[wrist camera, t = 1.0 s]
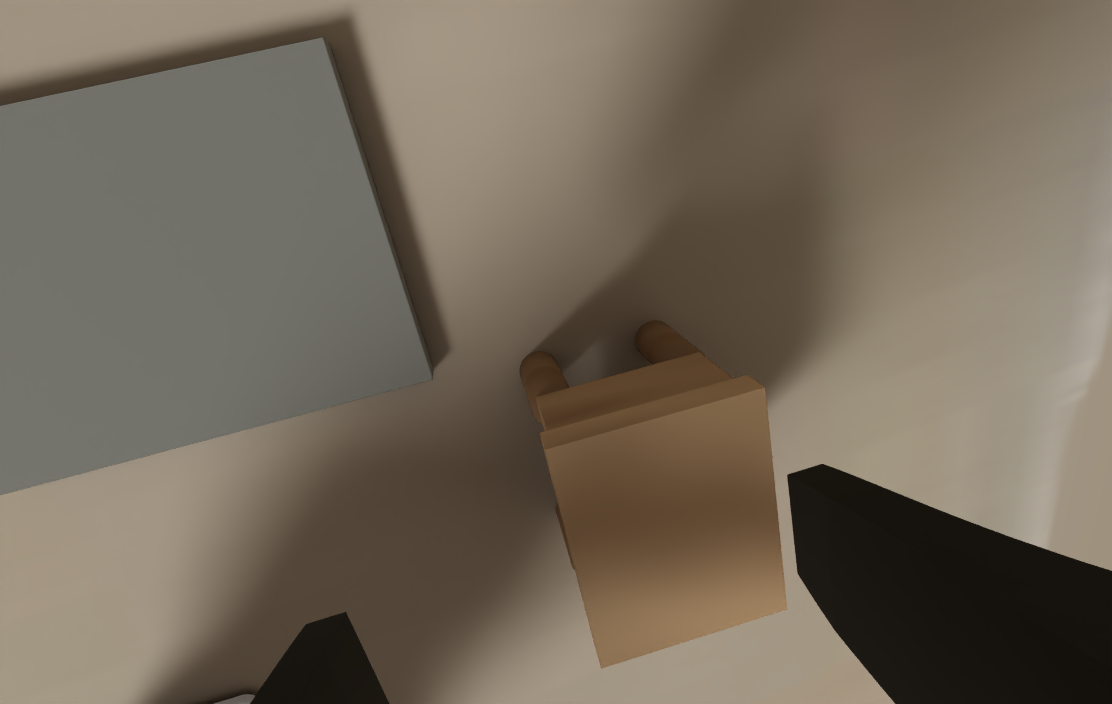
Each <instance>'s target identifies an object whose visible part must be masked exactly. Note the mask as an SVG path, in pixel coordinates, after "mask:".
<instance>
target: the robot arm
mask: <svg viewBox="0 0 1112 704" xmlns="http://www.w3.org/2000/svg"><path fill="white" fill-rule="evenodd" d="M787 477H788V487H789V496H790V506H791V515H792V525H793V534H794V544H795V553H796V563H797V572H798V575H799V576H800V578H801V580H802V581H803V583H804V584H805V586H806V587H807V589H808V591H809V592H810V594H811V595H812V597H813V598H814V600H815V602H816V603H817V605H818V606H819V608H820V609H821V611H822V612H823V614H824V615H825V617H826V618H827V619H828V621H829V622H830V624H831V625H832V627H833V628H834V630H835V631H836V633H837V634H838V635H839V636H840V637H841V639H842V640H843V641H844V642H845V644H846V645H847V646H848V647H849V649H850V650H851V651H852V652H853V653H854V655H855V656H856V657H857V658H858V659H859V661H860V662H861V663H862V664H863V666H864V667H865V668H866V669H867V670H868V672H869V673H870V674H871V675H872V676H873V678H874V679H875V680H876V681H877V682H878V684H879V685H880V686H881V687H882V688H883V690H884V691H885V692H886V693H887V694H888V696H889V697H890V698H891V699H892V700H893V702H894V703H895V704H1112V571H1110V570H1107V569H1104V568H1101V567H1098V566H1094V565H1091V564H1088V563H1085V562H1082V561H1079V560H1076V559H1073V558H1070V557H1067V556H1064V555H1061V554H1058V553H1055V552H1052V551H1049V550H1046V549H1043V548H1041V547H1038V546H1035V545H1032V544H1029V543H1026V542H1023V541H1020V540H1017V539H1014V538H1012V537H1009V536H1006V535H1003V534H1001V533H998V532H995V531H993V530H990V529H987V528H984V527H982V526H979V525H976V524H974V523H971V522H968V521H966V520H963V519H961V518H958V517H955V516H953V515H950V514H948V513H945V512H943V511H940V510H938V509H935V508H933V507H930V506H928V505H925V504H923V503H920V502H918V501H915V500H913V499H910V498H908V497H905V496H903V495H900V494H898V493H895V492H893V491H890V490H888V489H885V488H883V487H881V486H878V485H876V484H873V483H871V482H868V481H866V480H863V479H861V478H858V477H856V476H853V475H851V474H848V473H846V472H843V471H841V470H838V469H835V468H832V467H830V466H827V465H824V464H820V465H817V466H814V467H811V468H807V469H804V470H801V471H798V472H795V473H791V474H788V475H787ZM214 704H389V702H388V700H387V698H386V696H385V694H384V692H383V689H382V687H381V685H380V683H379V681H378V679H377V677H376V675H375V673H374V670H373V668H372V666H371V664H370V662H369V660H368V658H367V656H366V653H365V651H364V649H363V647H362V645H361V643H360V641H359V639H358V637H357V634H356V632H355V630H354V628H353V626H352V624H351V622H350V620H349V618H348V615H347V613H346V612H344V613H341V614H338V615H335V616H331V617H328V618H325V619H322V620H318V621H315V622H312V623H309V624H306V625H305V626H304V628H303V629H302V630H301V632H300V633H299V634H298V636H297V637H296V638H295V640H294V641H293V643H292V644H291V645H290V647H289V648H288V650H287V651H286V653H285V654H284V655H283V657H282V658H281V660H280V661H279V663H278V664H277V665H276V667H275V668H274V670H273V671H272V673H271V674H270V676H269V677H268V678H267V680H266V681H265V683H264V684H263V686H262V687H261V688H260V690H259V691H258V693H257V694H256V696H255V695H251V694H245V695H240V696H237V697H234V698H231V699H227V700H224V701H221V702H218V703H214Z"/></svg>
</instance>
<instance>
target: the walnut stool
mask: <svg viewBox="0 0 1112 704" xmlns="http://www.w3.org/2000/svg"><path fill="white" fill-rule="evenodd" d="M636 346H637V348H638V350H639V351H640V352H641V353H642V354H643V355H644V356H645V358H646V359H647V360H648V361H649V362H650V363H651V364H652V365H650V366H646V367H643V368H639V369H636V370H632V371H628V372H625V373H621V374H617V375H614V376H610V377H606V378H603V379H599V380H595V381H592V382H588V383H585V384H581V385H577V386H574V387H570V388H569V386H568V384H567V382H566V380H565V378H564V376H563V374H562V372H561V370H560V368H559V366H558V364H557V362H556V361H555V359H554V358H553V357H552V356H551V355H549V354H547V353H545V352H535V353H532V354H530V355H528V356H527V357H526V358H525V359H524V360H523V362H522V363H521V366H520V375H521V379H522V382H523V385H524V388H525V392H526V395H527V398H528V401H529V404H530V408H531V411H532V414H533V416H534V418H535V419H536V420H537V421H538V422H539V423H541V424H542V425H543V427H544V431H545V432H541V433H540V437H541V441H542V445H543V448H544V452H545V456H546V460H547V464H548V468H549V472H550V475H551V479H552V483H553V487H554V491H555V495H556V498H557V503H556V513H557V516H558V519H559V523H560V526H561V530H562V533H563V537H564V540H565V543H566V547H567V550H568V554H569V557H570V561H571V564H572V567H573V569H574V570H575V572H576V575H577V579H578V583H579V587H580V591H581V595H582V599H583V602H584V606H585V610H586V614H587V618H588V622H589V626H590V629H591V633H592V637H593V641H594V645H595V648H596V652H597V655H598V658H599V662H600V665H601V669H602V668H605V667H608V666H611V665H614V664H617V663H620V662H623V661H627V660H630V659H633V658H636V657H639V656H642V655H645V654H648V653H652V652H655V651H658V650H661V649H664V648H667V647H670V646H674V645H677V644H680V643H683V642H686V641H689V640H692V639H695V638H699V637H702V636H705V635H708V634H711V633H714V632H717V631H720V630H724V629H727V628H730V627H733V626H736V625H739V624H742V623H746V622H749V621H752V620H755V619H758V618H761V617H764V616H767V615H771V614H774V613H777V612H780V611H783V610H786V609H787V603H786V593H785V583H784V573H783V563H782V553H781V542H780V532H779V522H778V512H777V502H776V492H775V482H774V472H773V461H772V451H771V441H770V431H769V421H768V411H767V401H766V391H765V387H764V386H762V385H761V384H760V383H758V382H757V381H756V380H754V379H753V378H752V377H750V376H749V375H745V376H741V377H737V378H734V379H733V378H731V377H730V376H729V375H728V374H726V373H725V372H724V371H723V370H721V369H720V368H719V367H718V366H716V365H715V364H714V363H713V362H711V361H710V360H709V359H707V358H706V357H705V355H704V354H703V353H702V352H701V351H700V350H698V349H697V348H696V347H694V346H693V345H692V344H691V343H689V342H688V341H687V340H685V339H684V338H683V337H682V336H680V335H679V334H678V333H677V332H675V331H674V330H673V329H671V328H670V327H669V326H668V325H666V324H665V323H663V322H661V321H651V322H648V323H646V324H644V325H643V326H642V327H641V328H640V329H639V331H638V333H637V336H636Z"/></svg>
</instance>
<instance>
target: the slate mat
mask: <svg viewBox="0 0 1112 704" xmlns="http://www.w3.org/2000/svg"><path fill="white" fill-rule="evenodd" d="M433 371H434V370H433V367H432V363H431V360H430V357H429V354H428V351H427V348H426V345H425V342H424V338H423V335H422V332H421V329H420V326H419V323H418V320H417V317H416V313H415V310H414V307H413V304H412V301H411V298H410V295H409V291H408V288H407V285H406V282H405V279H404V276H403V273H402V270H401V266H400V263H399V260H398V257H397V254H396V251H395V248H394V245H393V241H392V238H391V235H390V232H389V229H388V226H387V223H386V220H385V216H384V213H383V210H382V207H381V204H380V201H379V198H378V194H377V191H376V188H375V185H374V182H373V179H372V176H371V173H370V169H369V166H368V163H367V160H366V157H365V154H364V151H363V148H362V144H361V141H360V138H359V135H358V132H357V129H356V126H355V123H354V119H353V116H352V113H351V110H350V107H349V104H348V101H347V98H346V94H345V91H344V88H343V85H342V82H341V79H340V76H339V72H338V69H337V66H336V63H335V60H334V57H333V54H332V51H331V47H330V44H329V43H328V42H327V41H326V40H325V39H324V38H323V37H322V38H318V39H313V40H308V41H304V42H299V43H294V44H289V45H285V46H280V47H275V48H271V49H266V50H261V51H256V52H252V53H247V54H242V55H238V56H233V57H228V58H224V59H219V60H214V61H209V62H205V63H200V64H195V65H191V66H186V67H181V68H176V69H172V70H167V71H162V72H158V73H153V74H148V75H144V76H139V77H134V78H129V79H125V80H120V81H115V82H111V83H106V84H101V85H96V86H92V87H87V88H82V89H78V90H73V91H68V92H64V93H59V94H54V95H49V96H45V97H40V98H35V99H31V100H26V101H21V102H16V103H12V104H7V105H2V106H0V495H3V494H7V493H11V492H14V491H18V490H22V489H26V488H29V487H33V486H37V485H41V484H44V483H48V482H52V481H56V480H59V479H63V478H67V477H70V476H74V475H78V474H82V473H85V472H89V471H93V470H97V469H100V468H104V467H108V466H112V465H115V464H119V463H123V462H127V461H130V460H134V459H138V458H141V457H145V456H149V455H153V454H156V453H160V452H164V451H168V450H171V449H175V448H179V447H183V446H186V445H190V444H194V443H198V442H201V441H205V440H209V439H212V438H216V437H220V436H224V435H227V434H231V433H235V432H239V431H242V430H246V429H250V428H254V427H257V426H261V425H265V424H269V423H272V422H276V421H280V420H283V419H287V418H291V417H295V416H298V415H302V414H306V413H310V412H313V411H317V410H321V409H325V408H328V407H332V406H336V405H339V404H343V403H347V402H351V401H354V400H358V399H362V398H366V397H369V396H373V395H377V394H381V393H384V392H388V391H392V390H396V389H399V388H403V387H407V386H410V385H414V384H418V383H422V382H425V381H429V380H433Z"/></svg>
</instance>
